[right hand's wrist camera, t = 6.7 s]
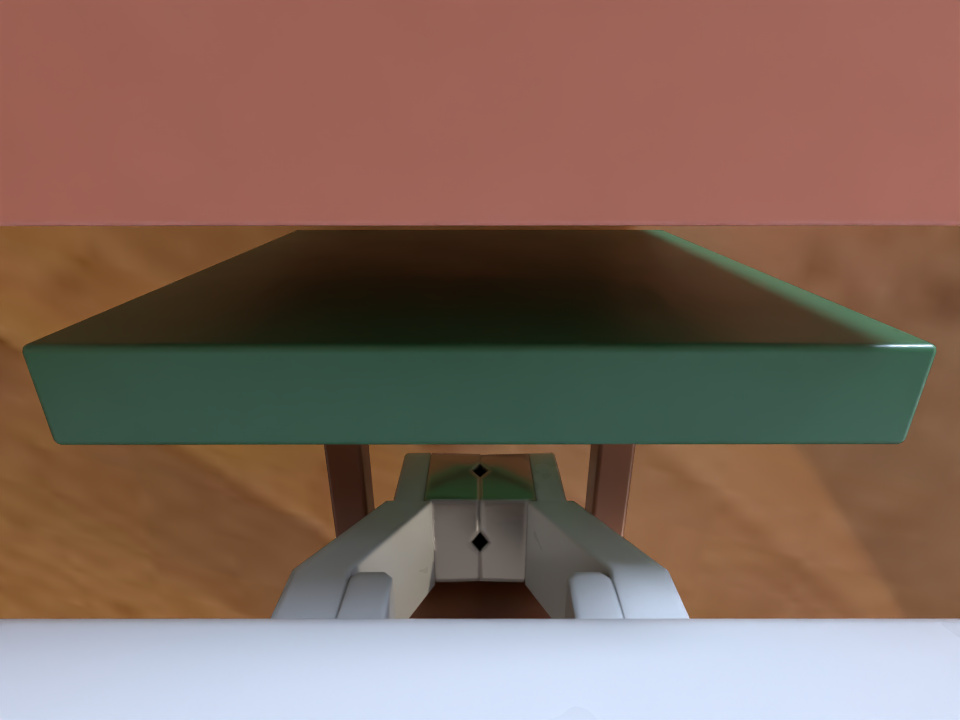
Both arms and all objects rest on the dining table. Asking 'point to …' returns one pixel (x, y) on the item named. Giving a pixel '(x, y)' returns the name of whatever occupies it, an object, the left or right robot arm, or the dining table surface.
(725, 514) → the dining table surface
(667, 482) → the dining table surface
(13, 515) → the dining table surface
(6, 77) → the cabinet
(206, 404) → the drawer
